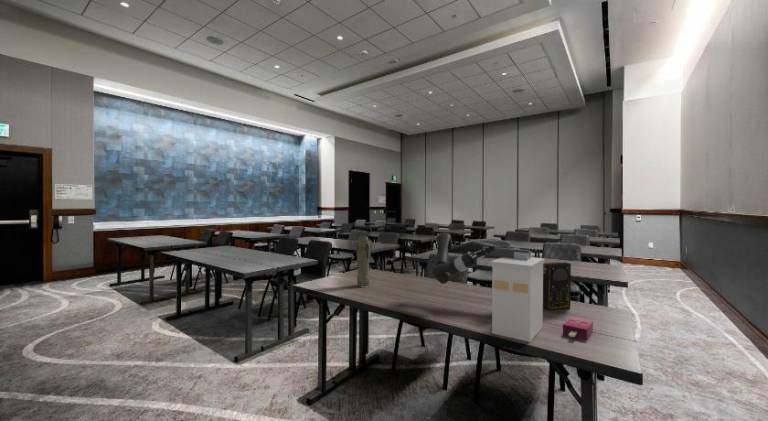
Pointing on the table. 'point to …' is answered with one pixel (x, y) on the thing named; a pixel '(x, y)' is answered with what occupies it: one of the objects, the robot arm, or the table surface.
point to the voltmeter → (556, 285)
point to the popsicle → (578, 328)
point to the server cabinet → (517, 297)
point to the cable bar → (510, 253)
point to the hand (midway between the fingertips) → (494, 247)
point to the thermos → (363, 261)
